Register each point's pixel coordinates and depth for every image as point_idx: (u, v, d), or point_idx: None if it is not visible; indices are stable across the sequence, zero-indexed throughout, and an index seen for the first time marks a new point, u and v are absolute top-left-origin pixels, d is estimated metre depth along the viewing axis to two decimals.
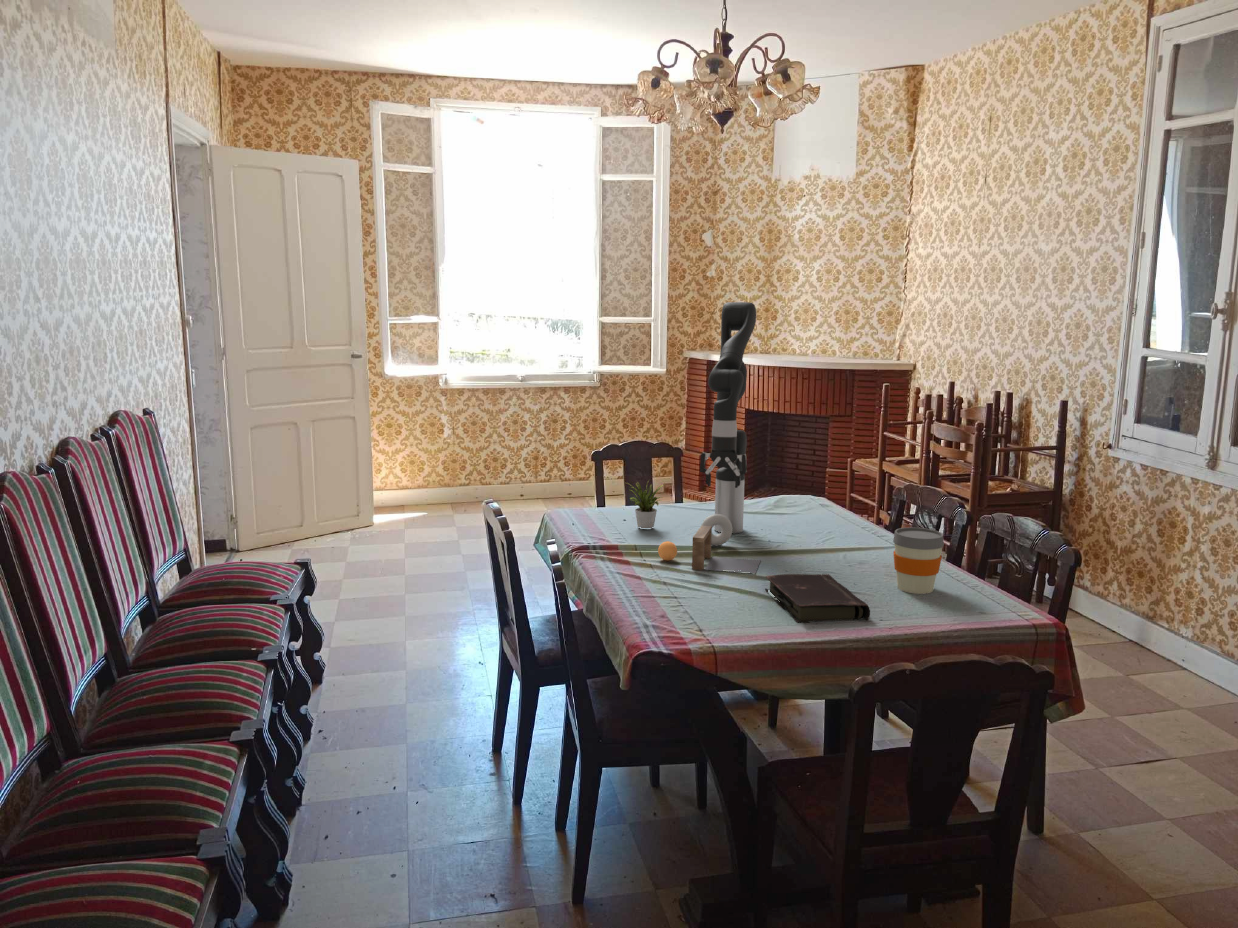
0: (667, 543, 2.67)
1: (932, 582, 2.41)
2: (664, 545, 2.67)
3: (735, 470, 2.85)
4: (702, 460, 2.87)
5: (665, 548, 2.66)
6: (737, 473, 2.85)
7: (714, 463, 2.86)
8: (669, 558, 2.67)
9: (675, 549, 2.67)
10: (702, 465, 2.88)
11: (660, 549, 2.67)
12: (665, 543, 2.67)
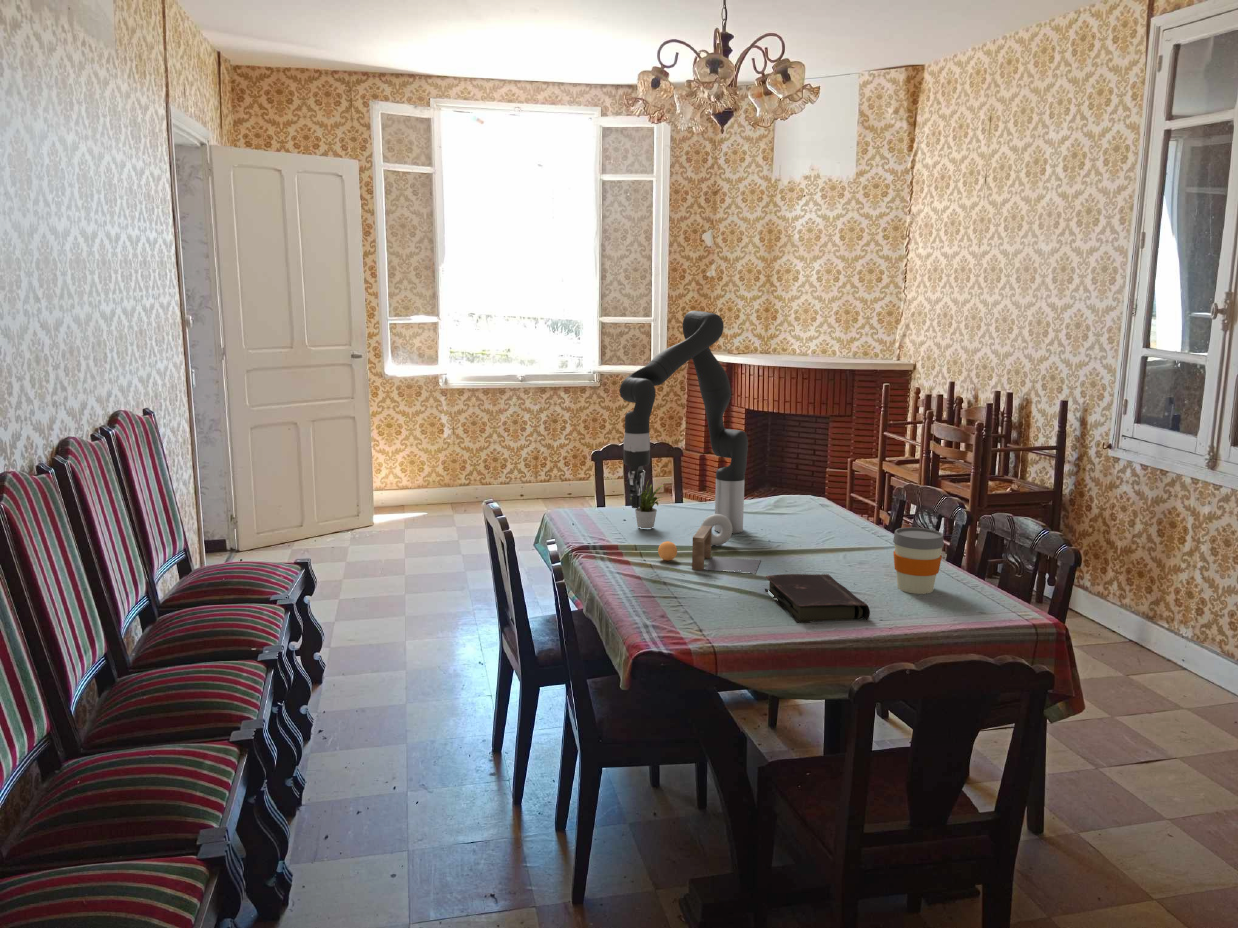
0: (667, 543, 2.67)
1: (932, 582, 2.41)
2: (664, 545, 2.67)
3: (641, 487, 2.69)
4: (636, 485, 2.63)
5: (665, 548, 2.66)
6: (641, 491, 2.69)
7: (641, 481, 2.66)
8: (669, 558, 2.67)
9: (675, 549, 2.67)
10: (637, 488, 2.64)
11: (660, 549, 2.67)
12: (665, 543, 2.67)
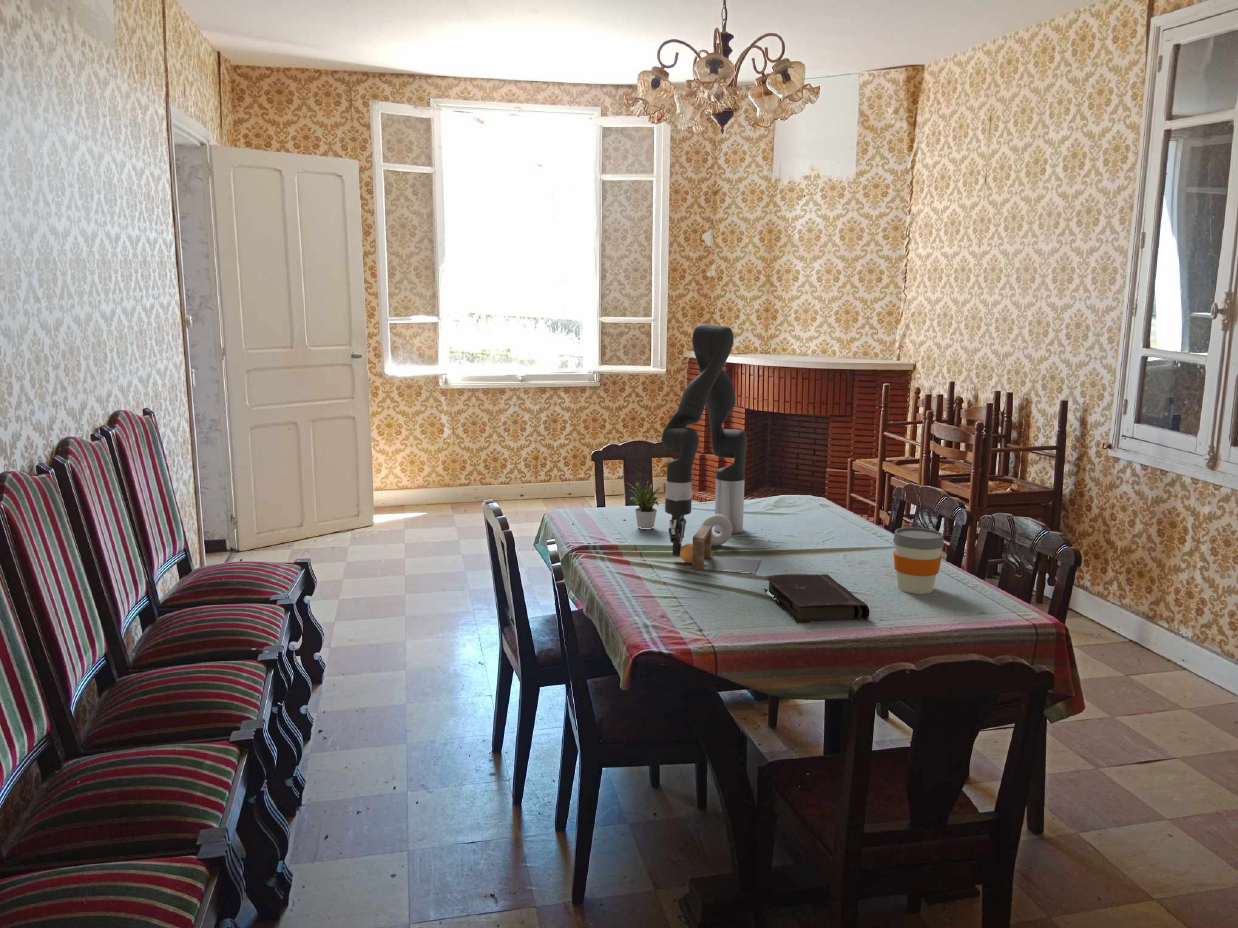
0: None
1: (932, 582, 2.41)
2: None
3: (682, 535, 2.68)
4: (678, 534, 2.62)
5: (691, 556, 2.64)
6: None
7: (682, 529, 2.65)
8: (681, 557, 2.66)
9: (690, 562, 2.66)
10: (678, 537, 2.63)
11: (690, 551, 2.64)
12: None
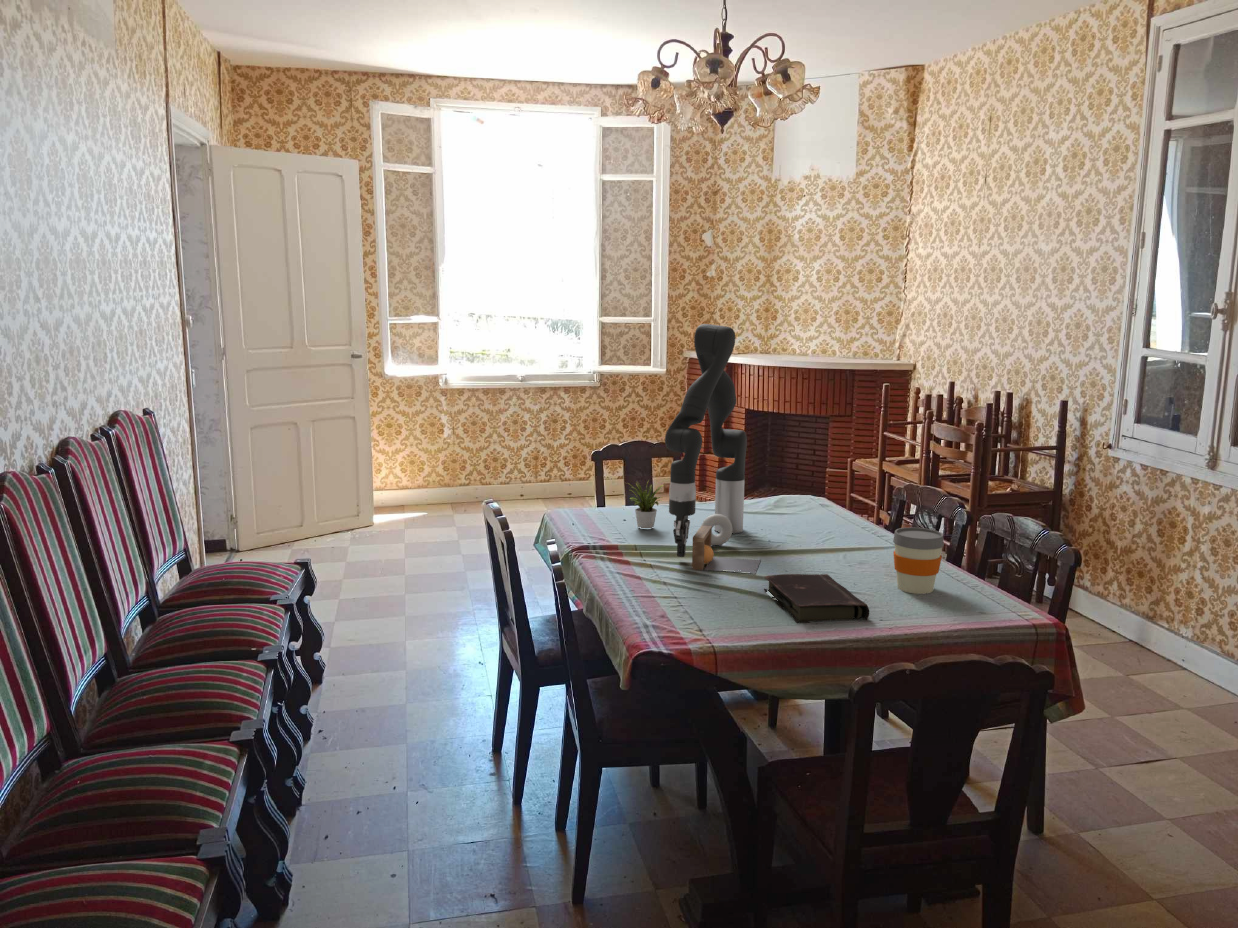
0: None
1: (932, 582, 2.41)
2: None
3: (686, 536, 2.68)
4: (682, 535, 2.62)
5: None
6: (686, 540, 2.67)
7: (686, 530, 2.65)
8: None
9: None
10: (683, 538, 2.63)
11: (706, 559, 2.63)
12: None
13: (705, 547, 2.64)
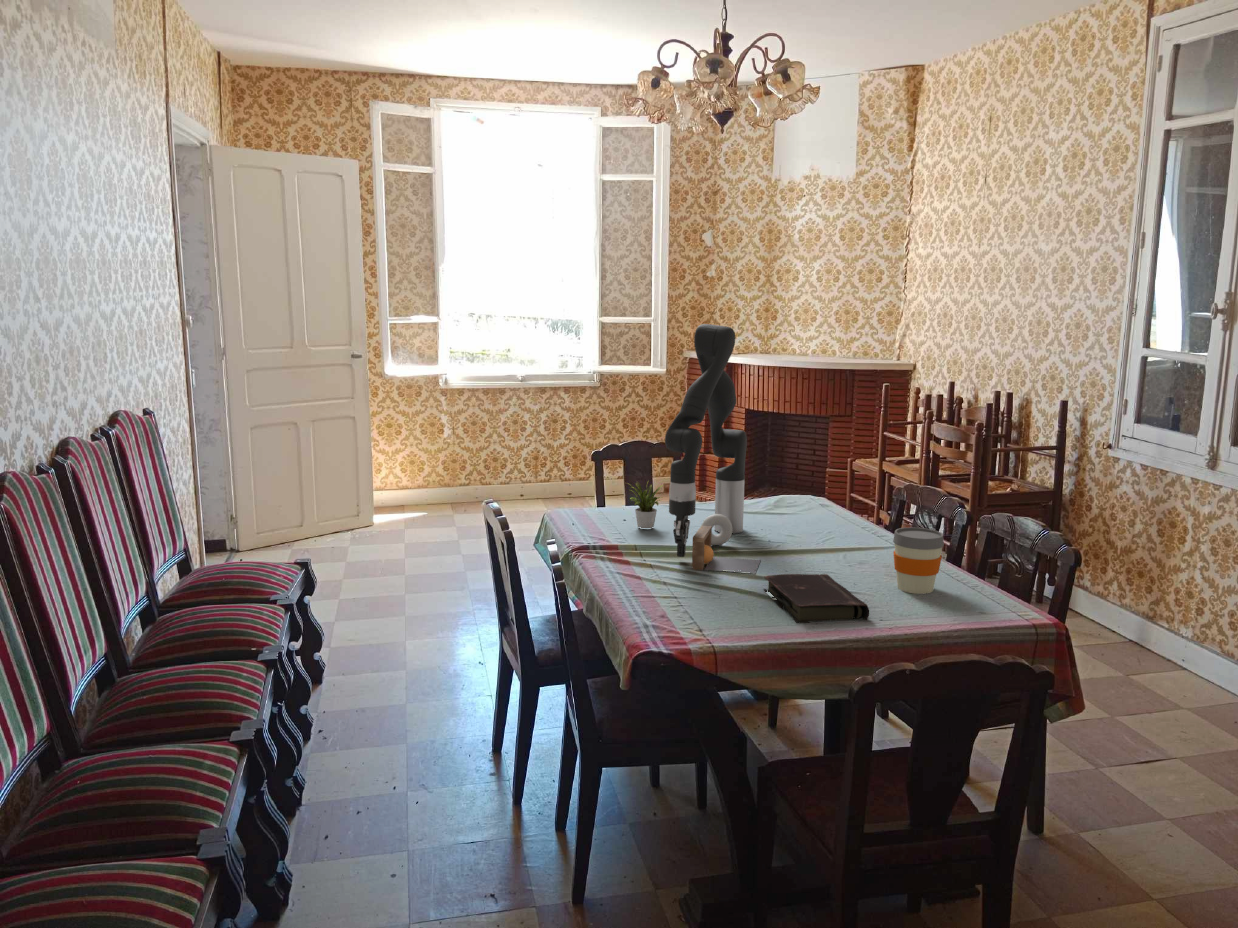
0: None
1: (932, 582, 2.41)
2: None
3: (686, 536, 2.68)
4: (682, 535, 2.62)
5: None
6: (686, 540, 2.67)
7: (686, 530, 2.65)
8: None
9: None
10: (683, 538, 2.63)
11: (706, 559, 2.63)
12: None
13: (705, 547, 2.64)
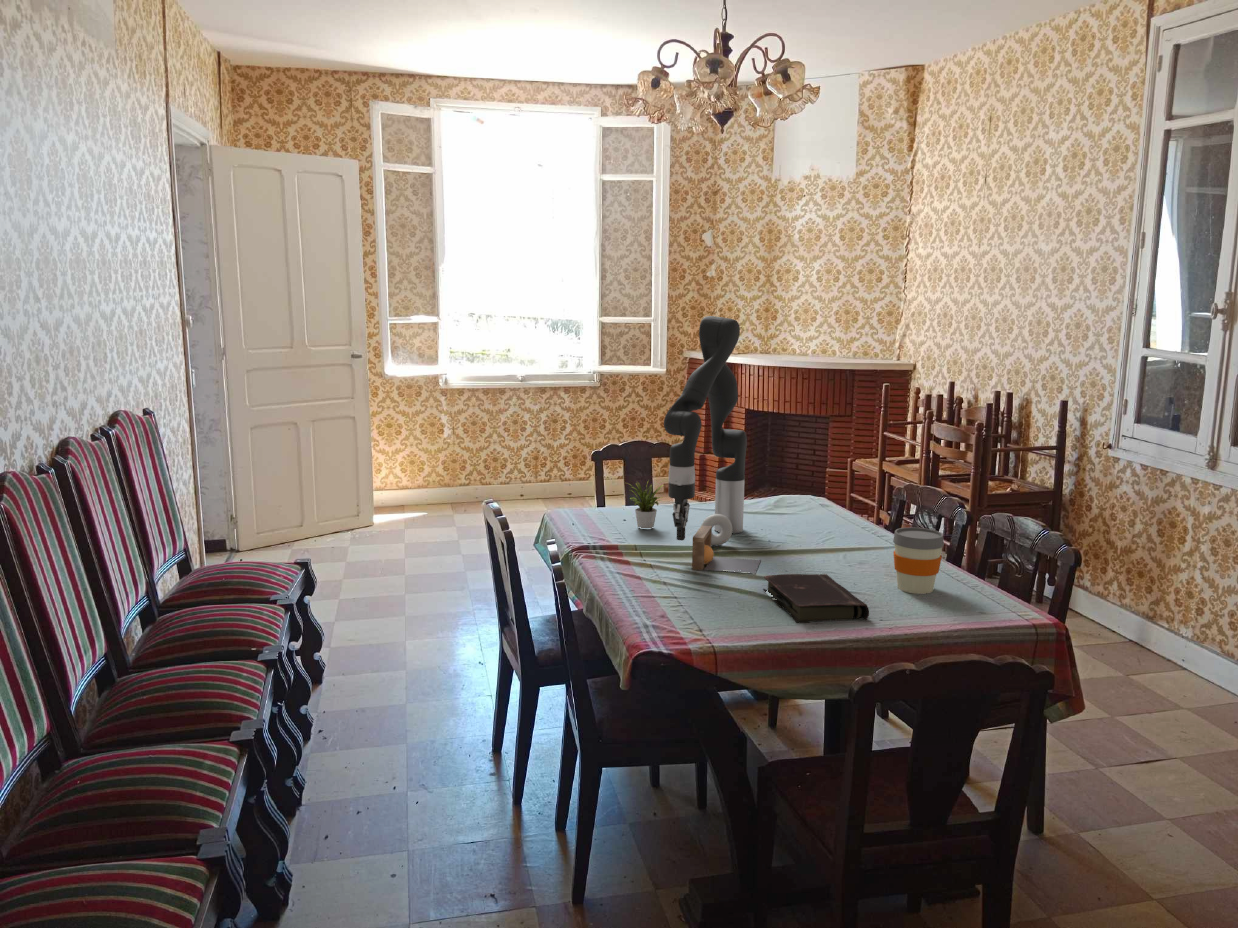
0: None
1: (932, 582, 2.41)
2: None
3: (686, 519, 2.67)
4: (682, 518, 2.62)
5: None
6: (685, 524, 2.67)
7: (686, 513, 2.65)
8: None
9: None
10: (682, 521, 2.63)
11: (706, 559, 2.63)
12: None
13: (705, 547, 2.64)
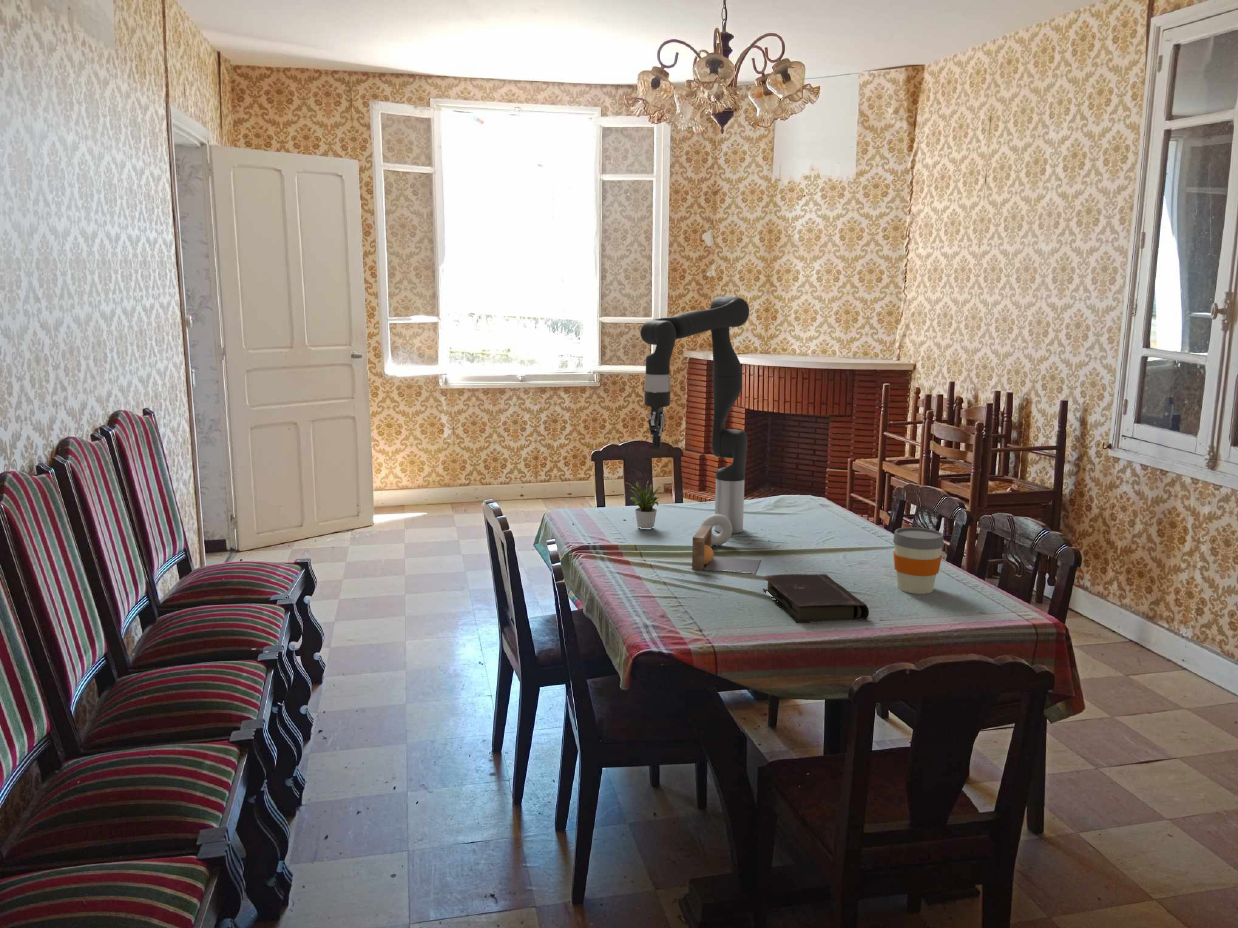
0: None
1: (932, 582, 2.41)
2: None
3: (661, 428, 2.74)
4: (657, 425, 2.69)
5: None
6: (661, 432, 2.74)
7: (661, 422, 2.72)
8: None
9: None
10: (658, 429, 2.70)
11: (706, 559, 2.63)
12: None
13: (705, 547, 2.64)
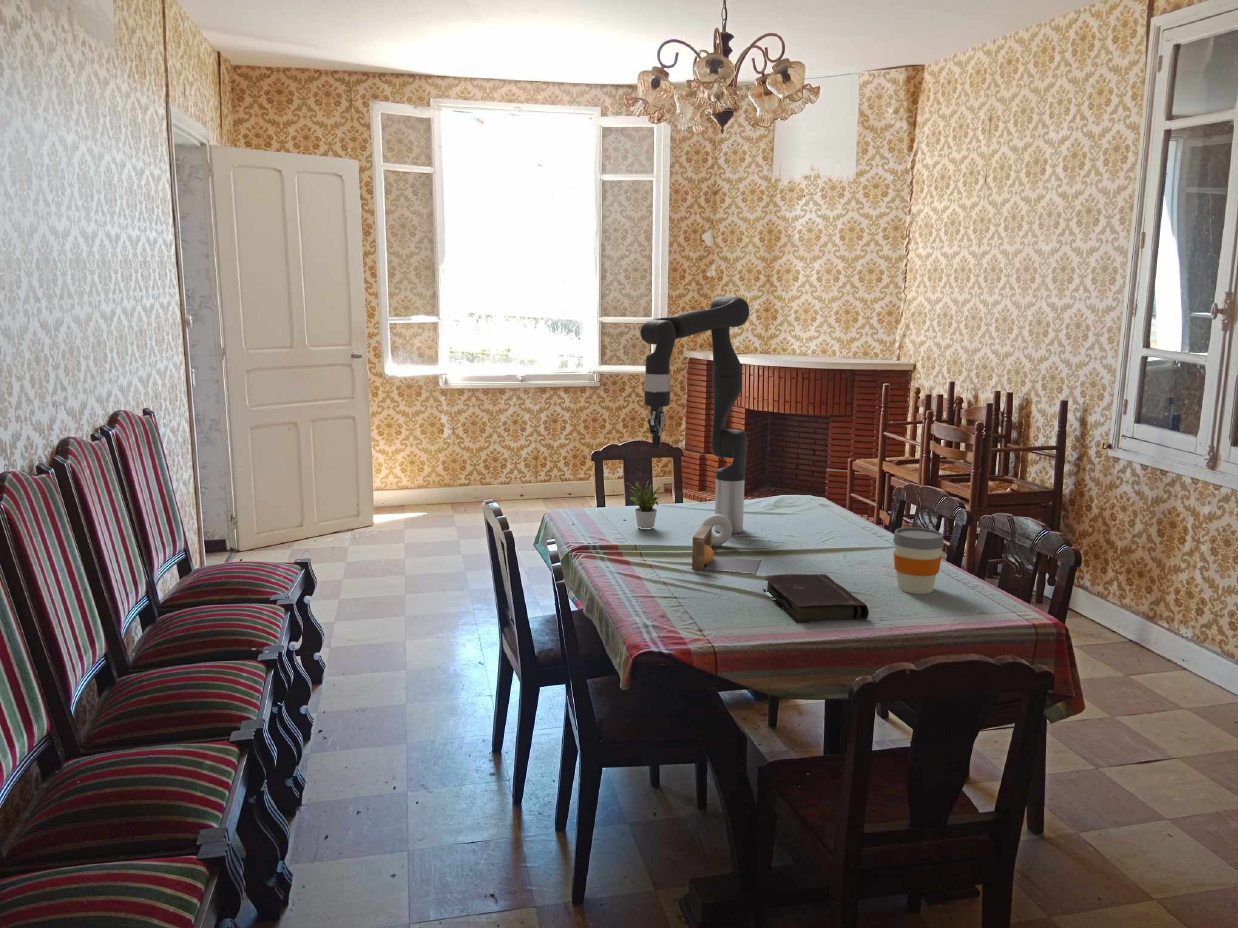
0: None
1: (932, 582, 2.41)
2: None
3: (661, 428, 2.74)
4: (657, 425, 2.69)
5: None
6: (661, 432, 2.74)
7: (661, 421, 2.72)
8: None
9: None
10: (658, 428, 2.70)
11: (706, 559, 2.63)
12: None
13: (705, 547, 2.64)
